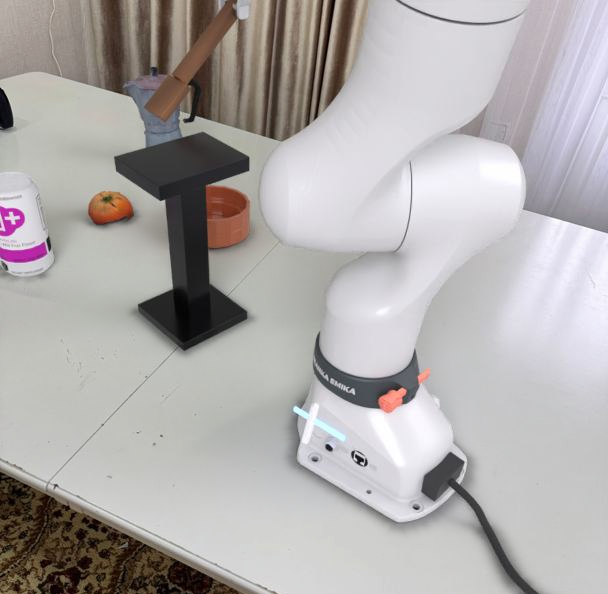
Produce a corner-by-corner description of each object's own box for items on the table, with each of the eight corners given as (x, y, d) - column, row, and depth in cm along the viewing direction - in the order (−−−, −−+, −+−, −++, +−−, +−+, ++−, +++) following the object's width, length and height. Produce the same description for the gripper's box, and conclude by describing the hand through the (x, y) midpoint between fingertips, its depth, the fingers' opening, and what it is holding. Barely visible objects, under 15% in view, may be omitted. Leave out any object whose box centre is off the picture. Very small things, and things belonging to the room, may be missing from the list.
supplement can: (39, 282, 100) (17, 198, 91) (-8, 274, 101) (-35, 189, 91) (64, 256, 107) (46, 174, 97) (19, 248, 107) (-3, 166, 98)
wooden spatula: (259, 0, 88) (253, -11, 87) (165, 122, 88) (158, 114, 87) (239, -8, 90) (233, -18, 89) (148, 112, 90) (140, 104, 89)
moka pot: (130, 155, 138) (118, 60, 124) (199, 150, 142) (195, 58, 128) (135, 174, 131) (123, 76, 118) (207, 169, 135) (204, 73, 122)
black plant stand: (252, 316, 98) (254, 159, 81) (178, 354, 90) (163, 189, 73) (205, 281, 104) (198, 128, 87) (132, 314, 96) (109, 153, 79)
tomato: (74, 213, 114) (91, 177, 114) (94, 222, 121) (110, 188, 121) (109, 231, 113) (127, 195, 112) (127, 239, 120) (144, 205, 119)
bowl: (263, 234, 116) (264, 205, 112) (207, 258, 109) (205, 228, 105) (220, 207, 123) (219, 178, 119) (163, 227, 116) (161, 198, 112)
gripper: (166, -114, 84) (173, 1, 93) (266, -90, 73) (263, 36, 82) (204, -115, 87) (207, -4, 96) (304, -92, 77) (297, 30, 86)
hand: (233, 15), depth 89 cm, fingers closed on wooden spatula, 2 cm apart
